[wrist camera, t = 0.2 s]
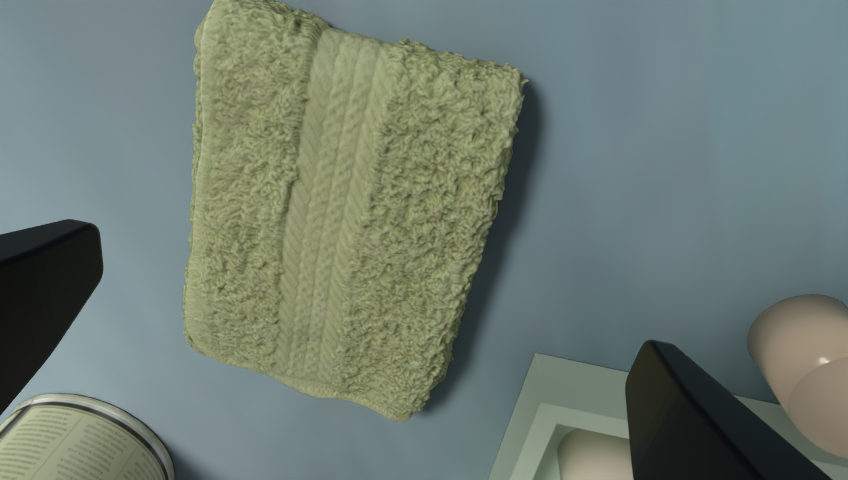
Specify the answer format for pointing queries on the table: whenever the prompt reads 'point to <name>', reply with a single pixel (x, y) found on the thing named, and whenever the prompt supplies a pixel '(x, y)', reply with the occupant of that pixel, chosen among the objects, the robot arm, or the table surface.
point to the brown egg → (807, 365)
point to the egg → (594, 456)
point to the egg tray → (600, 419)
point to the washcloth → (339, 201)
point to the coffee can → (79, 442)
